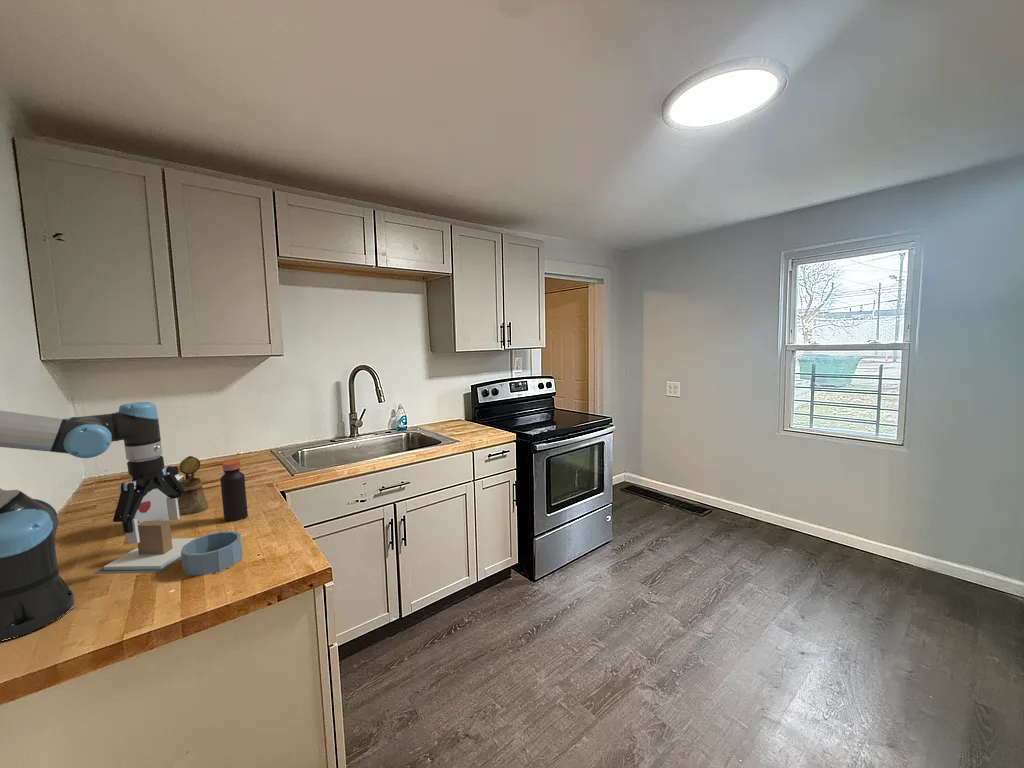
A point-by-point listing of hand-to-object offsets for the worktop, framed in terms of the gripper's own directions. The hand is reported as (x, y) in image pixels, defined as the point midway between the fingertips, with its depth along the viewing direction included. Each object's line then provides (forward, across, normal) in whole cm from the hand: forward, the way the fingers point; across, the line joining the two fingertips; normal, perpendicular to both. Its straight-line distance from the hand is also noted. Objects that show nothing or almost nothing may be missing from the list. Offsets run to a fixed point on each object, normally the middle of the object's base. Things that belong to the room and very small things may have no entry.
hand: (155, 530), depth 116 cm
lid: (+7, 0, 0) cm, 7 cm away
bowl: (+8, -4, -19) cm, 21 cm away
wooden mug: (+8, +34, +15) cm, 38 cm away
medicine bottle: (+8, +45, +32) cm, 56 cm away
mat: (+8, 0, 0) cm, 8 cm away
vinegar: (+8, +24, -7) cm, 26 cm away
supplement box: (+8, +19, +19) cm, 28 cm away
